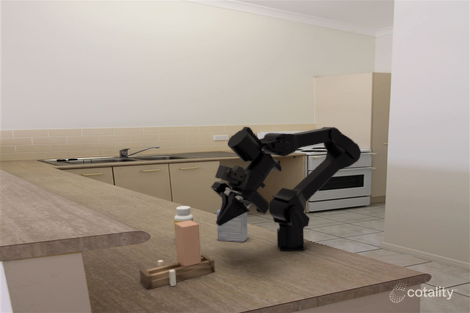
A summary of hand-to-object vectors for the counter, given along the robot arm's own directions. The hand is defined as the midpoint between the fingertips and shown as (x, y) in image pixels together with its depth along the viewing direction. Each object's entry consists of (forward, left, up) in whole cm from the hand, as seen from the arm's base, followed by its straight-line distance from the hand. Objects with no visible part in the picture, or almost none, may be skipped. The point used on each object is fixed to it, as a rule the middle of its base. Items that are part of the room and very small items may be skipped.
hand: (217, 224), depth 97 cm
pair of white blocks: (+11, +7, -10) cm, 17 cm away
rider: (+7, +4, -8) cm, 12 cm away
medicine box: (-2, -20, -10) cm, 23 cm away
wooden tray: (+9, +6, -10) cm, 15 cm away
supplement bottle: (+12, -20, -10) cm, 26 cm away
